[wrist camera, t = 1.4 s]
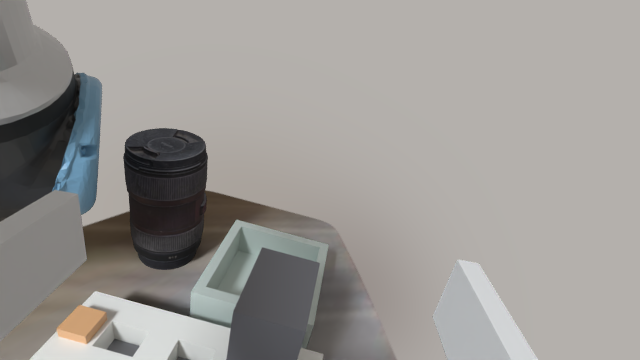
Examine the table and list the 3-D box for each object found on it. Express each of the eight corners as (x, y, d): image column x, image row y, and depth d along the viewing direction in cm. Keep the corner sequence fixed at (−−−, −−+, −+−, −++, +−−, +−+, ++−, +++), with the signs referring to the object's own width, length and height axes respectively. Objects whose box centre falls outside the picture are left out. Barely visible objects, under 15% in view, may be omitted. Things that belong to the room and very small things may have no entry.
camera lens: (165, 221, 46) (164, 120, 39) (215, 244, 45) (223, 143, 37) (114, 256, 40) (102, 140, 32) (171, 285, 38) (171, 170, 31)
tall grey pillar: (217, 422, 26) (232, 311, 20) (243, 352, 32) (262, 247, 25) (272, 437, 26) (306, 331, 20) (289, 365, 32) (320, 262, 25)
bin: (189, 325, 34) (191, 291, 32) (232, 249, 45) (236, 219, 42) (303, 357, 34) (313, 325, 32) (320, 272, 44) (328, 244, 42)
